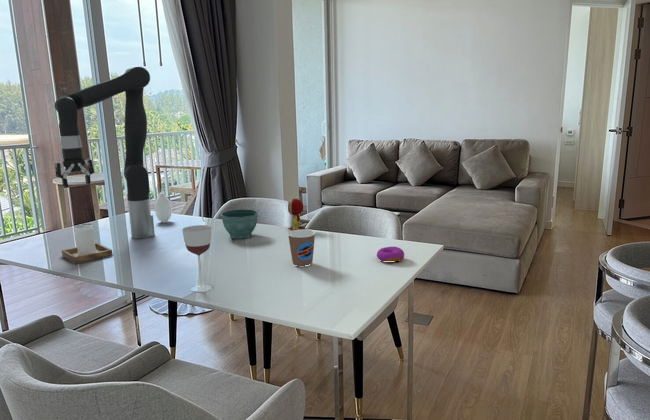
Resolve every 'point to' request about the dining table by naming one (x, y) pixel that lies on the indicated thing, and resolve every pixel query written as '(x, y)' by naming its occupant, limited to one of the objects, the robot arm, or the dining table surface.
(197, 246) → the wineglass
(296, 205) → the figurine
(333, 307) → the dining table surface
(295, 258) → the coffee cup
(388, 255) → the donut
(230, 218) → the teal green bowl
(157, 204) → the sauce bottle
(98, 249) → the tray
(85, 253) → the can
